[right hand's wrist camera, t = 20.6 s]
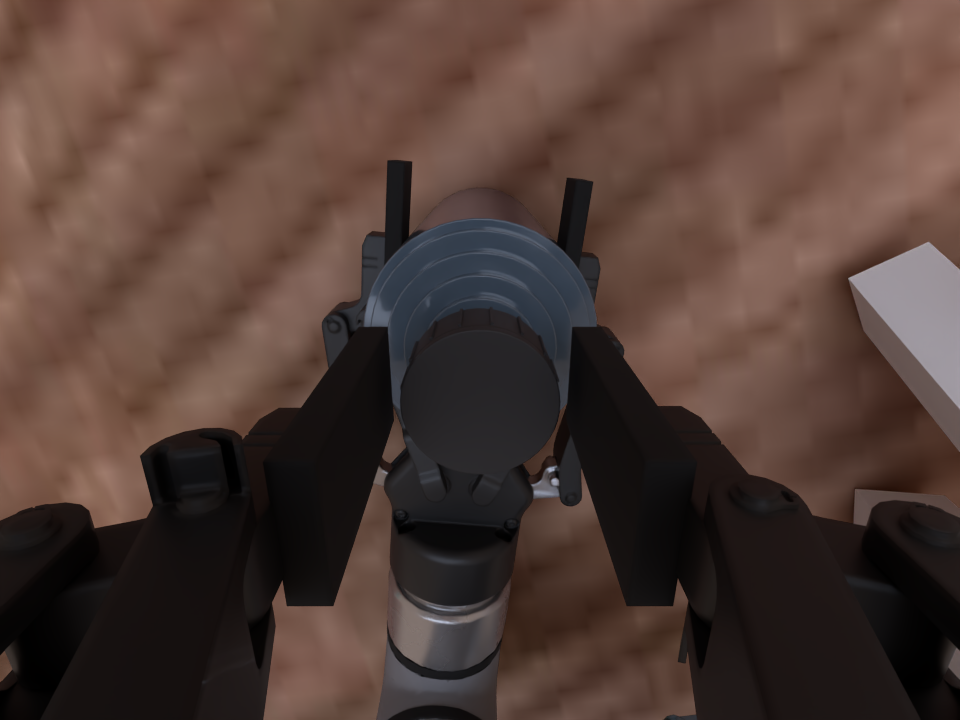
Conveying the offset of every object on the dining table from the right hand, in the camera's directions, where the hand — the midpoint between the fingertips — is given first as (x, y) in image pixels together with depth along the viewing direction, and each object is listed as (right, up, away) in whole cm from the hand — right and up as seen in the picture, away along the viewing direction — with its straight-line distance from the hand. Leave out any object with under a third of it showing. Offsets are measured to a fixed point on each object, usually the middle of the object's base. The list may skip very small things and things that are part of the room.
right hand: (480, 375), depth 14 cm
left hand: (0, +9, +10) cm, 14 cm away
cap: (0, -1, -1) cm, 2 cm away
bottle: (0, +7, +18) cm, 19 cm away
